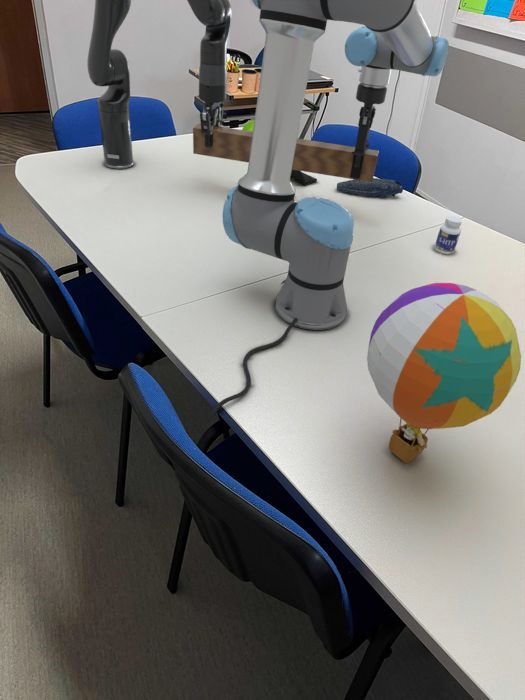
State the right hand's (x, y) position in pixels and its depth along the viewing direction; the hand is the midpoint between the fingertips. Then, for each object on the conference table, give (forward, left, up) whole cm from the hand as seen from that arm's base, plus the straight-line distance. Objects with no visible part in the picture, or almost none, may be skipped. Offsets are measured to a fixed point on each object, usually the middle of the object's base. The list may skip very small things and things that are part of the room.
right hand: (355, 174), depth 148 cm
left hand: (+4, +43, +2) cm, 43 cm away
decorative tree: (+42, +37, -12) cm, 57 cm away
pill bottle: (-16, -26, -12) cm, 33 cm away
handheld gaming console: (+21, +18, -12) cm, 30 cm away
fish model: (+17, -6, -12) cm, 22 cm away
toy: (-92, -11, -12) cm, 93 cm away
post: (+2, +21, -1) cm, 22 cm away
